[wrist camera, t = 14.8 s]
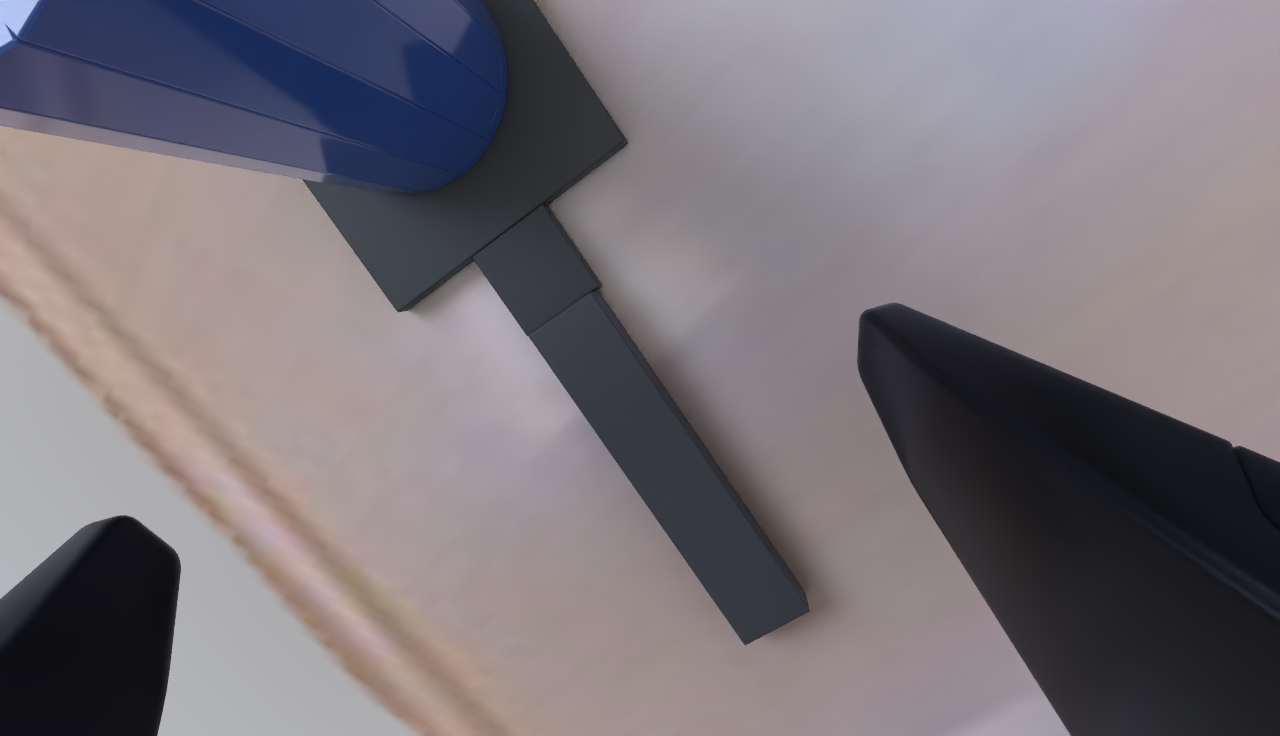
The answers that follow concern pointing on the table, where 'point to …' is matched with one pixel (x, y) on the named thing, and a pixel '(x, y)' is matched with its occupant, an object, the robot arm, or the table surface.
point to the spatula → (569, 307)
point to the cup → (264, 83)
